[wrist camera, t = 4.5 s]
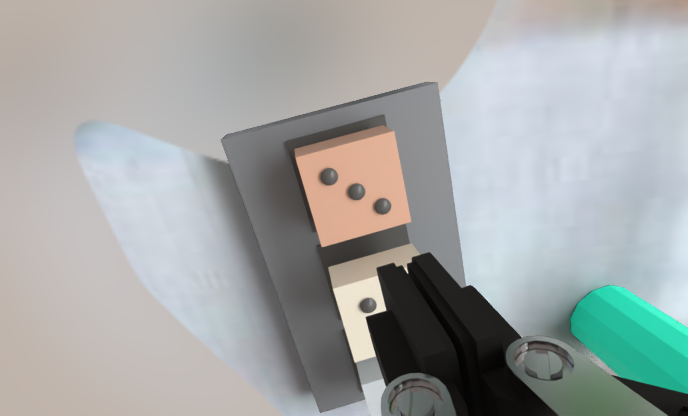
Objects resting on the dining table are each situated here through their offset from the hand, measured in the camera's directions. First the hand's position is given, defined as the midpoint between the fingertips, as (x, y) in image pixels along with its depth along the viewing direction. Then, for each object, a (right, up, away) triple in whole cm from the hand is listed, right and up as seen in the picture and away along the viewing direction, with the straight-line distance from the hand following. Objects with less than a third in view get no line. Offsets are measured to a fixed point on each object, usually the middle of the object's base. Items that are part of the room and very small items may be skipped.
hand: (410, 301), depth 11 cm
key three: (-2, +5, +11) cm, 12 cm away
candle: (+21, -6, +22) cm, 30 cm away
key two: (0, -2, +12) cm, 12 cm away
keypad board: (0, -1, +16) cm, 16 cm away
